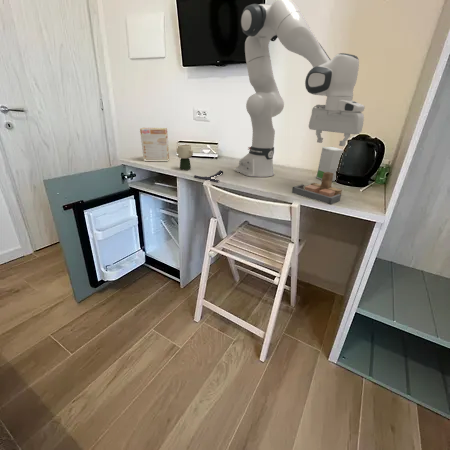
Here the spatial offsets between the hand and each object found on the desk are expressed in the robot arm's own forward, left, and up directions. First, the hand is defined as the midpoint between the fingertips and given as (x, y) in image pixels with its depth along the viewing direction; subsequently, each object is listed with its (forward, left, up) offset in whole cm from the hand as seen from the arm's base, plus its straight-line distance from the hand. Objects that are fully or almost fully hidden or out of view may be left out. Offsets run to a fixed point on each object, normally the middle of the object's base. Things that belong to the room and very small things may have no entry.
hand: (330, 144), depth 102 cm
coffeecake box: (-101, -24, -21) cm, 106 cm away
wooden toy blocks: (0, +3, -21) cm, 21 cm away
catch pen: (0, -5, -21) cm, 21 cm away
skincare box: (-11, +24, -21) cm, 33 cm away
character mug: (-71, -22, -21) cm, 77 cm away
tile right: (+4, -2, -21) cm, 21 cm away
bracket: (-49, -19, -22) cm, 57 cm away
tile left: (-3, -2, -21) cm, 21 cm away
